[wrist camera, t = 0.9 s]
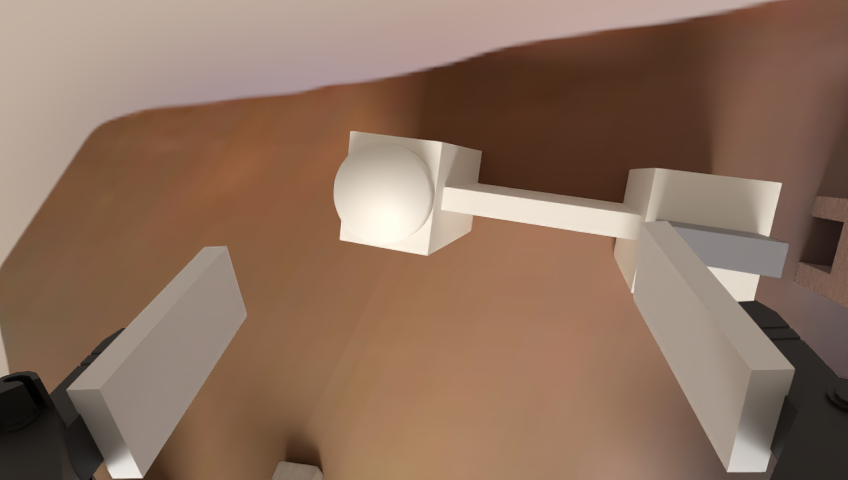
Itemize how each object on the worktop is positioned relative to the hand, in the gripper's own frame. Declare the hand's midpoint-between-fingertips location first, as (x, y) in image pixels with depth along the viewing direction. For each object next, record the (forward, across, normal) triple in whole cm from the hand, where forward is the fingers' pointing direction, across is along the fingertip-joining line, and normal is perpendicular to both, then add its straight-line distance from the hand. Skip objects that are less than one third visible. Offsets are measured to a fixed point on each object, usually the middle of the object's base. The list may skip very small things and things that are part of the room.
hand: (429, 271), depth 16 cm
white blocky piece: (+26, -8, +9) cm, 29 cm away
